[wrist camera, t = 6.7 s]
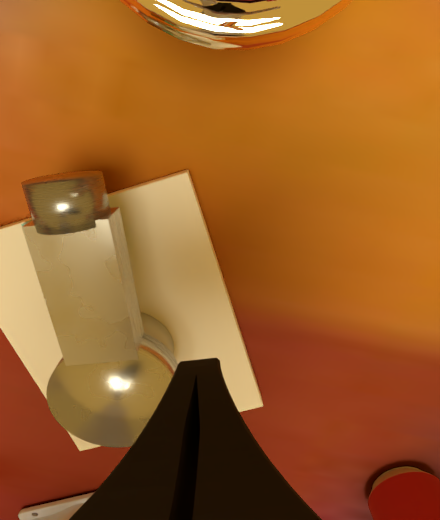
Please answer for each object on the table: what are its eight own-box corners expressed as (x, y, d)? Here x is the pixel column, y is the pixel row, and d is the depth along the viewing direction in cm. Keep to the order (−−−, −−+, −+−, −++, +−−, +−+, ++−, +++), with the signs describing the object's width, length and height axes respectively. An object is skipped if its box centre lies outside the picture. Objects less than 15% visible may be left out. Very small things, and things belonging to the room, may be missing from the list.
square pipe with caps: (187, 407, 22) (184, 452, 19) (79, 416, 22) (60, 463, 19) (149, 164, 16) (136, 176, 13) (3, 177, 16) (-42, 192, 13)
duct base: (84, 439, 27) (68, 481, 24) (-41, 239, 20) (-85, 261, 17) (261, 395, 26) (268, 433, 23) (188, 169, 19) (184, 180, 16)
